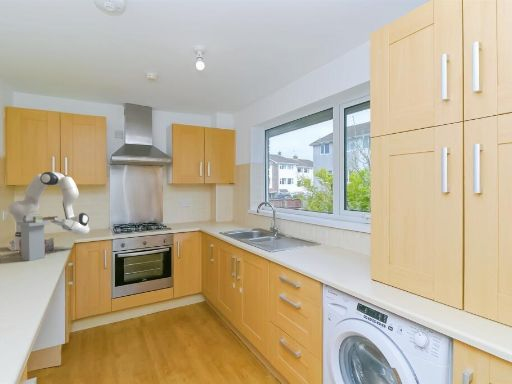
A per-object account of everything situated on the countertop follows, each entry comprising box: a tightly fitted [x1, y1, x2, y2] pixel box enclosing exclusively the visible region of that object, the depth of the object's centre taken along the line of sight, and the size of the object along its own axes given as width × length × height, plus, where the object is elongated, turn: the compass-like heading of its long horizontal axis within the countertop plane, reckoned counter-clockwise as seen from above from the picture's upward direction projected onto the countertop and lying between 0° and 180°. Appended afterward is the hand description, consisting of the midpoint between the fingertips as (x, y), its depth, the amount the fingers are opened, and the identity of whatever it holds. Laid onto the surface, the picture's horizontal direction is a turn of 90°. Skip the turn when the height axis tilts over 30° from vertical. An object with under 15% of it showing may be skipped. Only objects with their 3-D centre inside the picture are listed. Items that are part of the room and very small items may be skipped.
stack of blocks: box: [19, 237, 55, 256], centre depth 217 cm, size 21×6×12 cm, turn 163°
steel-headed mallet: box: [23, 213, 59, 223], centre depth 202 cm, size 5×20×5 cm, turn 151°
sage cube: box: [33, 215, 43, 223], centre depth 195 cm, size 4×4×4 cm
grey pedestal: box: [17, 220, 50, 262], centre depth 198 cm, size 18×12×26 cm, turn 61°
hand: (51, 217), depth 208 cm, fingers open, 8 cm apart
